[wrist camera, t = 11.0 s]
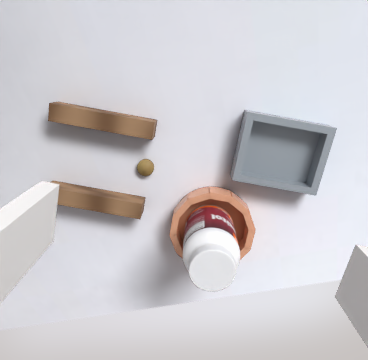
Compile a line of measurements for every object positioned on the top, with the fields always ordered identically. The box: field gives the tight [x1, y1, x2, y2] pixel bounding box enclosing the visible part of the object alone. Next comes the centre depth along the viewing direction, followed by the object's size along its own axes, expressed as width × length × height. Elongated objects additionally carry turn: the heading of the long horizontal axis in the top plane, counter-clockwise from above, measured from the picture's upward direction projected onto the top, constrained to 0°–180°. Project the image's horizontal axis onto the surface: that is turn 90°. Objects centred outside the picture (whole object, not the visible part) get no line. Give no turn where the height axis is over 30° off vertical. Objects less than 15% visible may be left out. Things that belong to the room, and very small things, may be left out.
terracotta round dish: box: [170, 187, 255, 260], centre depth 42 cm, size 10×10×3 cm
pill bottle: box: [183, 205, 240, 292], centre depth 38 cm, size 6×6×11 cm
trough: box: [230, 110, 337, 195], centre depth 39 cm, size 10×8×3 cm
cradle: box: [48, 102, 157, 219], centre depth 41 cm, size 12×12×2 cm
